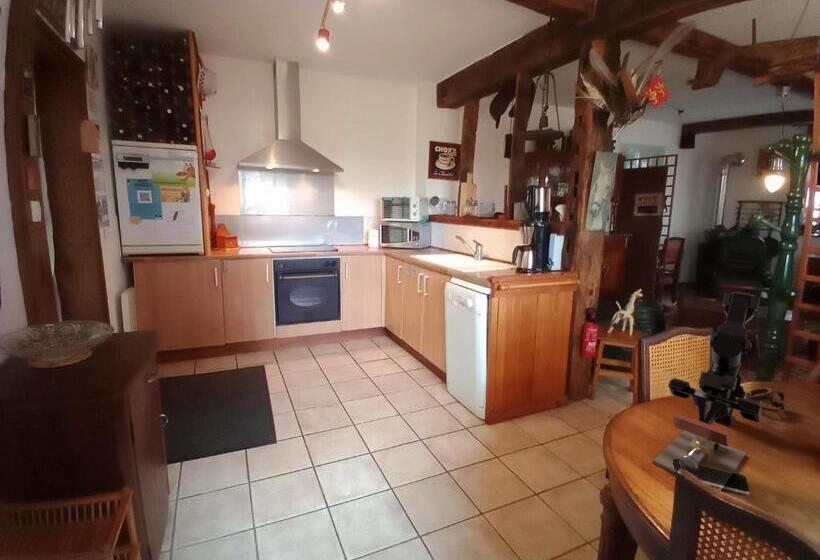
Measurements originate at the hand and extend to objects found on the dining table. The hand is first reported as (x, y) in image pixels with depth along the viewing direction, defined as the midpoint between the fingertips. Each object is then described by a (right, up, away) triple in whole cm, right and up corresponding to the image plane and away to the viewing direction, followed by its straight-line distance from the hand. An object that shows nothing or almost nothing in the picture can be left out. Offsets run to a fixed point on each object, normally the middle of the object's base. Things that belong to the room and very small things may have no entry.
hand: (701, 429), depth 102 cm
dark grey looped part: (+42, -5, +30) cm, 52 cm away
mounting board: (+2, -9, +3) cm, 10 cm away
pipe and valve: (+2, -8, +4) cm, 10 cm away
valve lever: (+2, -4, +2) cm, 5 cm away
